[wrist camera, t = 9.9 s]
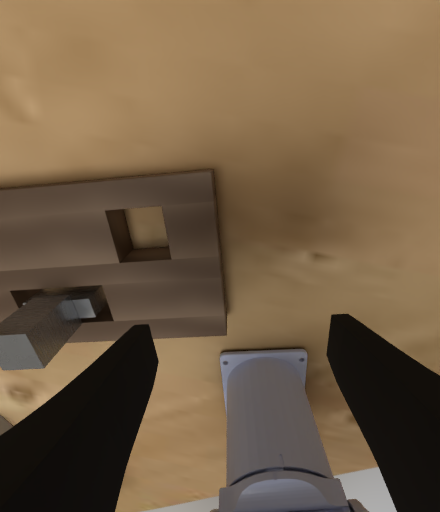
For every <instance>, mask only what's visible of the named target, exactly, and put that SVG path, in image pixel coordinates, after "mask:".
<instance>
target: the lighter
mask: <svg viewBox="0 0 440 512" xmlns="http://www.w3.org/2000/svg"><path fill="white" fill-rule="evenodd" d="M12 427H13V426H12V425H11V424H10V423H9V422H8V421H7V420H6V419H4V418H3V417H2V416H1V415H0V435H2V434H3V433H5V432H6V431H8V430H9V429H10V428H12Z"/></svg>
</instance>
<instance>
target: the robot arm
mask: <svg viewBox="0 0 440 512" xmlns="http://www.w3.org/2000/svg"><path fill="white" fill-rule="evenodd" d="M307 356H308V355H307V352H306V350H304V349H286V350H263V351H239V352H223V353H221V354H220V365H221V374H222V382H223V391H224V399H225V408H226V416H227V476H226V487H225V488H220V489H219V509H214V510H211V511H210V512H369V511H367V510H366V509H365V508H364V507H363V505H362V504H361V503H360V502H359V501H358V500H356V499H349V500H346V496H345V493H344V490H343V487H342V485H341V482H340V479H338V478H336V479H335V478H334V477H333V474H332V471H331V468H330V465H329V462H328V459H327V456H326V453H325V450H324V447H323V444H322V441H321V438H320V434H319V431H318V428H317V425H316V422H315V419H314V416H313V413H312V410H311V407H310V404H309V401H308V398H307V395H306V392H305V381H306V368H307ZM327 357H328V360H329V363H330V366H331V369H332V371H333V374H334V376H335V379H336V382H337V384H338V386H339V388H340V390H341V392H342V394H343V396H344V398H345V400H346V402H347V404H348V406H349V408H350V410H351V412H352V414H353V416H354V418H355V420H356V422H357V423H358V425H359V427H360V429H361V431H362V433H363V435H364V437H365V439H366V441H367V443H368V445H369V447H370V449H371V451H372V454H373V456H374V458H375V460H376V462H377V464H378V466H379V469H380V471H381V474H382V476H383V478H384V481H385V483H386V486H387V488H388V491H389V493H390V496H391V498H392V500H393V503H394V505H395V508H396V510H397V512H440V376H439V375H438V374H436V373H434V372H433V371H431V370H430V369H428V368H426V367H425V366H423V365H422V364H420V363H419V362H417V361H416V360H414V359H413V358H411V357H409V356H408V355H407V354H405V353H404V352H402V351H401V350H399V349H398V348H396V347H395V346H393V345H392V344H390V343H389V342H388V341H386V340H385V339H383V338H382V337H380V336H379V335H378V334H376V333H375V332H373V331H372V330H371V329H369V328H368V327H366V326H365V325H363V324H362V323H361V322H359V321H358V320H356V319H355V318H353V317H352V316H350V315H349V314H334V315H331V323H330V331H329V339H328V347H327ZM300 358H302V359H300ZM224 361H227V362H224ZM158 362H159V361H158V357H157V354H156V350H155V346H154V342H153V338H152V334H151V330H150V326H149V324H139V325H133V326H132V327H131V328H130V329H129V330H128V331H127V332H126V333H125V334H123V335H122V336H121V337H120V338H119V339H118V340H117V341H116V342H115V343H114V344H113V345H112V346H111V347H110V348H109V349H107V350H106V351H105V352H104V353H103V354H102V355H101V356H100V357H99V358H98V359H97V360H96V361H94V362H93V363H92V364H91V365H90V366H89V367H88V368H87V369H85V370H84V371H83V372H82V373H81V374H80V375H78V376H77V377H76V378H75V379H74V380H73V381H71V382H70V383H69V384H68V385H67V386H66V387H64V388H63V389H62V390H61V391H60V392H58V393H57V394H56V395H55V396H53V397H52V398H51V399H50V400H48V401H47V402H46V403H45V404H43V405H42V406H41V407H39V408H38V409H37V410H35V411H34V412H33V413H31V414H30V415H29V416H27V417H26V418H25V419H23V420H22V421H20V422H19V423H18V424H16V425H15V426H13V427H12V428H10V429H9V430H8V431H6V432H5V433H3V434H2V435H0V512H115V509H116V505H117V501H118V497H119V493H120V489H121V485H122V481H123V478H124V474H125V470H126V466H127V463H128V460H129V457H130V453H131V450H132V447H133V445H134V442H135V439H136V436H137V433H138V430H139V427H140V424H141V421H142V418H143V416H144V413H145V410H146V407H147V404H148V401H149V398H150V395H151V392H152V389H153V385H154V381H155V376H156V372H157V367H158Z"/></svg>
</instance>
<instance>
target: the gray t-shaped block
mask: <svg viewBox="0 0 440 512" xmlns="http://www.w3.org/2000/svg"><path fill="white" fill-rule="evenodd" d="M107 302H108V301H107V298H106V295H105V292H104V289H103V286H102V285H93V286H77V287H61V288H45V289H42V290H40V291H39V292H37V293H36V294H35V295H33V296H32V297H31V298H29V299H28V300H27V301H25V302H24V303H23V306H22V307H21V308H19V309H18V310H17V311H15V312H14V313H13V314H11V315H10V316H8V317H7V318H6V319H4V320H3V321H2V322H0V366H1V368H2V370H21V369H41V368H45V367H46V366H47V364H48V363H49V362H50V361H51V360H52V358H53V357H54V356H55V355H56V354H57V353H58V351H59V350H60V349H61V348H62V347H63V346H64V344H65V343H66V342H67V341H68V340H69V339H70V337H71V336H72V335H73V334H74V333H75V332H76V330H77V329H78V328H79V327H80V326H81V325H82V322H81V319H80V318H91V317H96V316H97V315H98V314H99V312H100V311H101V310H102V309H103V307H104V306H105V305H106V304H107Z"/></svg>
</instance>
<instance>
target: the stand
mask: <svg viewBox="0 0 440 512" xmlns="http://www.w3.org/2000/svg"><path fill="white" fill-rule="evenodd" d="M154 206H162V210H163V216H164V221H165V227H166V232H167V237H168V243H169V247H159V248H145V249H133V247H132V243H131V239H130V235H129V231H128V227H127V223H126V219H125V215H124V211H123V209H130V208H142V207H154ZM93 285H102V286H103V289H104V292H105V295H106V298H107V301H108V303H107V304H106V305H105V306H104V307H103V309H102V310H101V311H100V312H99V314H98V315H97V316H96V317H91V318H80V319H81V322H82V325H81V326H80V327H79V328H78V329H77V330H76V332H75V333H74V334H73V335H72V336H71V337H70V339H69V340H68V341H67V342H66V343H76V342H97V341H117V340H118V339H119V338H120V337H121V336H122V335H123V334H125V333H126V332H127V331H128V330H129V329H130V328H131V327H132V326H133V325H139V324H149V326H150V330H151V334H152V338H153V339H161V338H182V337H203V336H225V335H227V311H226V300H225V289H224V279H223V268H222V257H221V246H220V235H219V224H218V214H217V203H216V192H215V181H214V170H213V169H209V170H198V171H187V172H176V173H165V174H154V175H143V176H132V177H121V178H110V179H99V180H88V181H77V182H67V183H56V184H45V185H34V186H23V187H12V188H1V189H0V322H2V321H3V320H4V319H6V318H7V317H8V316H10V315H11V314H13V313H14V312H15V311H17V310H18V309H19V308H21V307H22V306H23V303H24V302H25V301H27V300H28V299H29V298H31V297H32V296H33V295H35V294H36V293H37V292H39V291H40V290H42V289H45V288H61V287H77V286H93Z"/></svg>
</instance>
